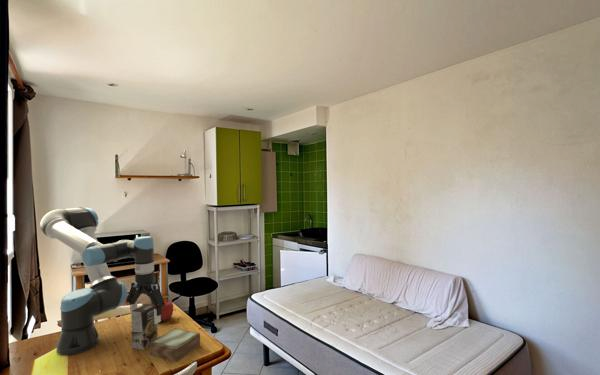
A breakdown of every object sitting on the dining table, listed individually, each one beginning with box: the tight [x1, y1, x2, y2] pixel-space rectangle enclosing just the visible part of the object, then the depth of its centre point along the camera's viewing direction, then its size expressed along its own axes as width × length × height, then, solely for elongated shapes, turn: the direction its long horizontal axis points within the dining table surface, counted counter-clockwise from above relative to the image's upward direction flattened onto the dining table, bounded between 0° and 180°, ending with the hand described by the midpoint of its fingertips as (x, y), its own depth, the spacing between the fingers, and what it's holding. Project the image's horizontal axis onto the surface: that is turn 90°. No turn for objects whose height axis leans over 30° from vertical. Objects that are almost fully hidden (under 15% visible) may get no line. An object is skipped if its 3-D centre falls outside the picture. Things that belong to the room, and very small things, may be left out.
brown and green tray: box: [149, 327, 201, 362], centre depth 135 cm, size 14×14×5 cm
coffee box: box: [131, 303, 159, 350], centre depth 140 cm, size 9×6×16 cm
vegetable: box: [161, 301, 174, 322], centre depth 164 cm, size 11×10×10 cm
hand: (145, 320), depth 139 cm, fingers open, 13 cm apart
